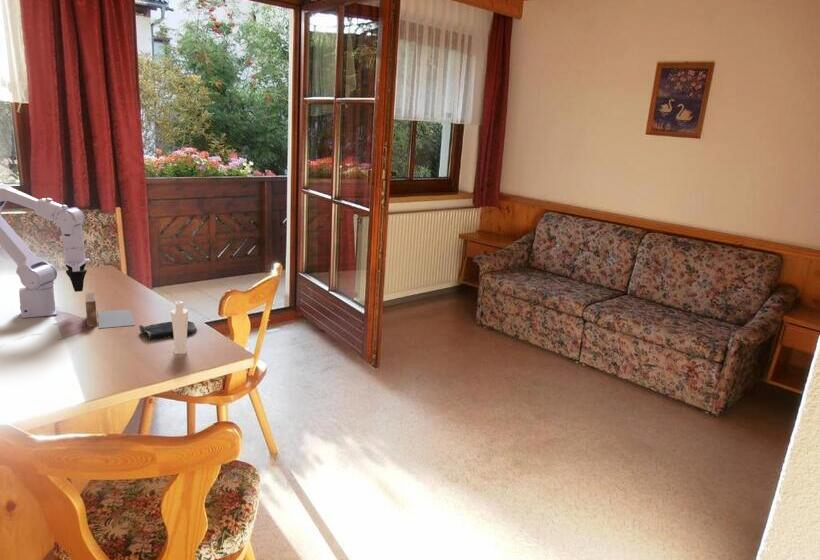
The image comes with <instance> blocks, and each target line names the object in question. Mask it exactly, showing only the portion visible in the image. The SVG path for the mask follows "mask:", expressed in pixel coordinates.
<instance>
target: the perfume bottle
mask: <svg viewBox="0 0 820 560" xmlns="http://www.w3.org/2000/svg"><path fill="white" fill-rule="evenodd" d="M174 303H175V308H174V309H172V310H170V315H171V317H170V318H171V322H172V326H173V335H174V336H173V341H174V348H173V352H174V353H175V355H182V354H187V353H188V351H189V349H188V346H187V341H188V335H187V325H188V321H189V310H188V309H186V308H184V301H181V300H179V301H175V302H174Z"/></svg>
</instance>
